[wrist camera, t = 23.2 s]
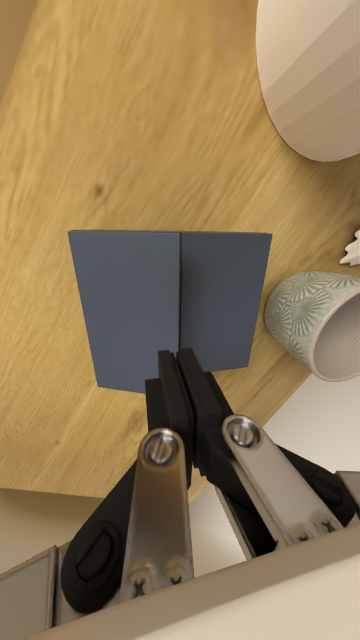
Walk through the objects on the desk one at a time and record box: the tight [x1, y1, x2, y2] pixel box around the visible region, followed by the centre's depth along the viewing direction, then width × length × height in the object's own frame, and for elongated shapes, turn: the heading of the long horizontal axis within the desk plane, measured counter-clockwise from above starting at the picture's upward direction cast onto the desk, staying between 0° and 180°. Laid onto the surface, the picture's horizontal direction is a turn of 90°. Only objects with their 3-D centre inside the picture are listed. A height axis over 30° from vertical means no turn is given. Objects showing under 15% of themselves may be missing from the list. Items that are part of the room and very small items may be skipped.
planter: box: [264, 271, 360, 382], centre depth 27 cm, size 12×12×11 cm
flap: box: [68, 231, 181, 394], centre depth 15 cm, size 7×13×1 cm, turn 179°
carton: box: [71, 230, 272, 372], centre depth 22 cm, size 15×13×10 cm
